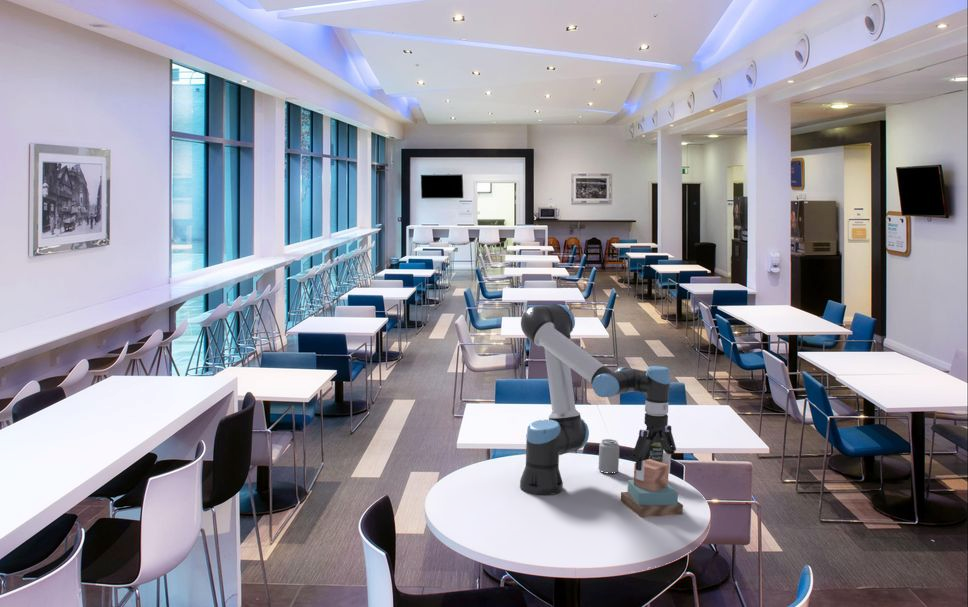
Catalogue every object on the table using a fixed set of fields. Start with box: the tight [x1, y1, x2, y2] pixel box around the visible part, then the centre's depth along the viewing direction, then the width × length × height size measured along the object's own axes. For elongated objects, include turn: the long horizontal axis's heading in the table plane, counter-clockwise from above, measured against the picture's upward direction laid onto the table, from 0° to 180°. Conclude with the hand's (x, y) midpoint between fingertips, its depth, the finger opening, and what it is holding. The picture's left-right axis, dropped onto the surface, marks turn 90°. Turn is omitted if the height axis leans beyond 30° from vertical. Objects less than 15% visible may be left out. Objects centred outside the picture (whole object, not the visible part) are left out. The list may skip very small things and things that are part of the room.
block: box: [633, 459, 670, 491], centre depth 261 cm, size 8×8×8 cm
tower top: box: [627, 479, 679, 505], centre depth 261 cm, size 13×13×4 cm
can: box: [597, 438, 620, 474], centre depth 298 cm, size 8×8×12 cm
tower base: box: [620, 491, 684, 518], centre depth 261 cm, size 15×15×4 cm
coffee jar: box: [640, 439, 665, 463], centre depth 291 cm, size 10×8×19 cm
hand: (653, 475), depth 261 cm, fingers open, 13 cm apart
